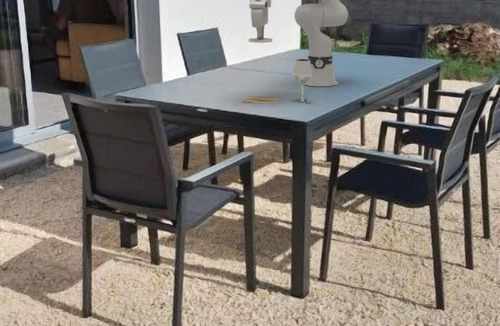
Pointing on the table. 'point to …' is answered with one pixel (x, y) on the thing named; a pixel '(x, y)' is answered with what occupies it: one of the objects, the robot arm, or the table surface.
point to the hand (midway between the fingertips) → (260, 36)
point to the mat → (261, 100)
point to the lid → (260, 39)
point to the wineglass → (302, 73)
